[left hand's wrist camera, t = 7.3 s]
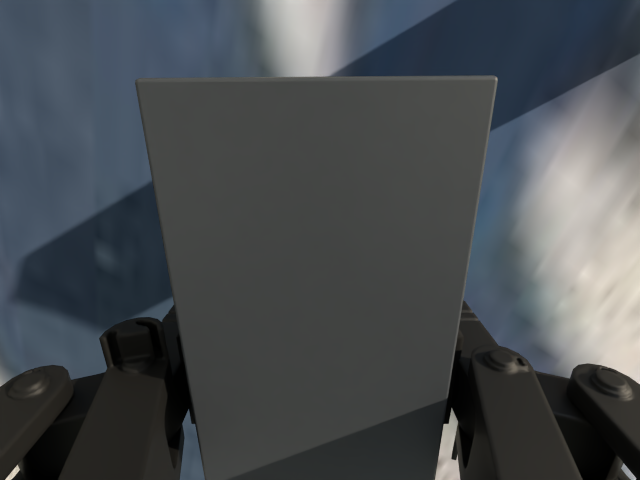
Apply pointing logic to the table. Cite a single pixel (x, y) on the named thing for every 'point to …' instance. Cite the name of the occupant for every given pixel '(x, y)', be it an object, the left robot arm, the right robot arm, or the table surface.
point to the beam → (318, 263)
